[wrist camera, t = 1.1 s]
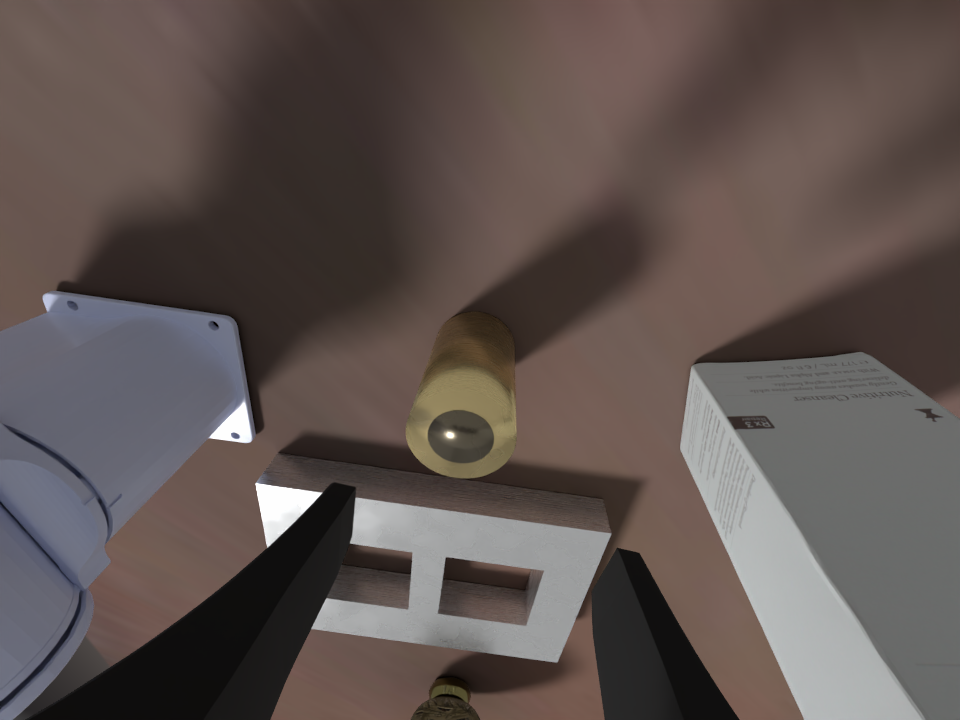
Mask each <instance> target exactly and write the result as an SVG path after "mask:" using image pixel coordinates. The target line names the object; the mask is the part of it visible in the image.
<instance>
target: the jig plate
mask: <svg viewBox="0 0 960 720" xmlns="http://www.w3.org/2000/svg"><path fill="white" fill-rule="evenodd" d="M333 482H336V483H340V484H345V485H349V486H353V487H356V498H355V510H354V522H353V534H352V538H351V541H350V544H357V545H364V546H371V547H378V548H386V549H393V550H400V551H407V552H413V556H412V569H411V574H404V573H397V572H389V571H382V570H375V569H368V568H361V567H354V566H346V565H341V568H340V570H339V573H338V575H337V577H336V579H335V581H334V583H333V586H332V588H331V590H330V592H329V594H328V596H327V598H326V600H325V602H324V604H323V606H322V608H321V610H320V612H319V614H318V616H317V618H316V620H315V622H314V624H313V626H312V628H311V629H317V630H324V631H331V632H338V633H346V634H353V635H360V636H367V637H375V638H382V639H389V640H396V641H404V642H411V643H418V644H425V645H433V646H440V647H447V648H454V649H461V650H469V651H476V652H483V653H490V654H498V655H505V656H512V657H519V658H527V659H534V660H541V661H548V662H556V663H557V662H558V660H559V657H560V655H561V653H562V650H563V648H564V646H565V643H566V641H567V638H568V636H569V634H570V631H571V629H572V627H573V624H574V622H575V619H576V617H577V615H578V612H579V610H580V608H581V605H582V603H583V600H584V598H585V596H586V593H587V591H588V588H589V586H590V584H591V581H592V579H593V577H594V574H595V572H596V569H597V567H598V565H599V562H600V560H601V558H602V555H603V553H604V550H605V548H606V546H607V543H608V541H609V539H610V536H611V534H612V533H611V529H610V525H609V521H608V517H607V513H606V509H605V505H604V501H603V499H599V498H592V497H585V496H578V495H571V494H564V493H556V492H549V491H542V490H535V489H528V488H521V487H514V486H507V485H500V484H493V483H486V482H479V481H471V480H464V479H457V478H450V477H443V476H436V475H429V474H422V473H415V472H408V471H401V470H394V469H386V468H379V467H372V466H365V465H358V464H351V463H344V462H337V461H330V460H323V459H316V458H309V457H301V456H294V455H287V454H280V453H277V454H276V456H275V457H274V459H273V460H272V461H271V463H270V464H269V466H268V467H267V468H266V470H265V471H264V473H263V474H262V475H261V477H260V478H259V480H258V481H257V482H256V488H257V493H258V499H259V504H260V510H261V515H262V521H263V526H264V532H265V537H266V543H267V548H268V547H269V546H270V545H271V544H272V543H273V542H274V541H275V540H276V539H277V538H278V537H279V536H280V535H281V534H283V533H284V532H285V531H286V530H287V529H288V528H289V527H290V526H291V525H292V524H293V523H294V522H295V521H296V520H297V519H298V518H299V517H300V516H301V515H302V514H303V513H304V512H305V511H306V510H307V509H308V508H309V507H310V506H311V505H312V504H313V503H314V501H315V500H316V499H317V498H318V497H319V496H320V495H321V494H322V493H323V492H324V490H325V489H326V488H327V487H328V486H329V485H330V484H331V483H333ZM446 557H450V558H457V559H464V560H471V561H479V562H486V563H493V564H500V565H507V566H514V567H521V568H529V569H531V572H530V575H529V579H528V582H527V585H526V589H525V590H519V589H511V588H504V587H497V586H490V585H483V584H476V583H468V582H461V581H454V580H447V579H443V576H444V568H445V561H446Z"/></svg>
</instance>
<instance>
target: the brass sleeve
mask: <svg viewBox="0 0 960 720" xmlns="http://www.w3.org/2000/svg"><path fill="white" fill-rule="evenodd" d="M406 438H407V442H408V445H409V447H410V449H411V451H412V453H413V454H414V455H415V457H416V458H417V459H418V460H419V461H420V462H421V463H422V464H424V465H425V466H426V467H428V468H429V469H431V470H433V471H435V472H437V473H439V474H442V475H445V476H449V477H454V478H476V477H481V476H485V475H488V474H490V473H492V472H494V471H496V470H498V469H499V468H501V467H502V466H503V465H504V464H505V463H506V462H507V461H508V460H509V458H510V457H511V456H512V454H513V452H514V449H515V446H516V392H515V345H514V340H513V337H512V334H511V332H510V331H509V329H508V328H507V326H506V325H505V324H504V323H503V322H501V321H500V320H499V319H497V318H496V317H494V316H492V315H489V314H487V313H482V312H465V313H461V314H458V315H456V316H454V317H452V318H451V319H449V320H448V321H447V322H446V323H445V324H444V325H443V326H442V327H441V329H440V331H439V333H438V335H437V338H436V341H435V344H434V347H433V349H432V352H431V355H430V358H429V361H428V364H427V366H426V369H425V372H424V375H423V378H422V381H421V384H420V386H419V389H418V392H417V395H416V398H415V401H414V403H413V406H412V409H411V412H410V415H409V418H408V421H407V424H406Z"/></svg>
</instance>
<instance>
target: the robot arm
mask: <svg viewBox="0 0 960 720" xmlns="http://www.w3.org/2000/svg"><path fill="white" fill-rule="evenodd" d="M43 302H44V304H45V307H46V309H47V312H48V313H45V314H42V315H40V316H37V317H35V318H32V319H30V320H27V321H25V322H22V323H20V324H17V325H15V326H12V327H10V328H7V329H5V330H2V331H0V720H12V719H14V718H15V717H16V716H17V715H18V714H20V713H21V712H22V711H23V710H24V709H25V708H26V707H27V706H28V705H30V704H31V703H32V702H33V701H34V700H35V699H36V698H37V697H38V696H39V695H40V694H41V693H42V692H43V690H44V689H46V687H47V686H48V685H49V684H50V683H51V682H52V681H53V680H54V679H55V678H56V677H57V675H58V674H59V673H60V672H61V670H62V669H63V668H64V667H65V665H66V664H67V663H68V662H69V660H70V659H71V657H72V656H73V654H74V653H75V651H76V650H77V648H78V647H79V645H80V644H81V642H82V640H83V638H84V636H85V634H86V632H87V630H88V628H89V625H90V623H91V620H92V617H93V610H94V602H93V596H92V594H91V592H90V590H89V589H88V587H89V585H90V584H91V583H92V582H93V581H94V580H95V579H96V578H97V577H98V576H99V575H100V574H101V572H102V571H103V570H104V569H105V568H106V567H107V566H108V565H109V564H110V562H111V561H110V559H109V557H108V556H107V554H106V552H105V548H104V546H105V544H106V543H107V542H108V541H109V540H110V539H111V538H112V537H113V536H114V535H115V534H116V533H117V532H118V531H119V530H120V529H121V528H122V526H123V525H124V524H125V523H126V522H127V521H128V520H129V519H130V518H131V517H132V516H133V515H134V514H135V513H136V512H137V511H138V510H139V509H140V508H141V507H142V506H143V505H144V504H145V503H146V502H147V501H148V500H149V499H150V498H151V497H152V496H153V495H154V494H155V493H156V492H157V490H158V489H159V488H160V487H161V486H162V485H163V484H164V483H165V482H166V481H167V480H168V479H169V478H170V477H171V476H172V475H173V474H174V473H175V472H176V471H177V470H178V469H179V468H180V467H181V466H182V465H183V464H184V463H185V462H186V461H187V460H188V459H189V458H190V457H191V456H192V454H193V453H194V452H195V451H196V450H197V449H198V448H199V447H200V446H201V445H202V444H203V443H204V442H205V441H206V440H207V439H208V438H214V439H222V440H229V441H236V442H243V443H250V442H252V440H253V439H254V438H255V436H256V433H255V427H254V421H253V415H252V409H251V404H250V398H249V392H248V386H247V380H246V374H245V368H244V362H243V356H242V350H241V344H240V338H239V332H238V326H237V323H236V322H235V320H234V319H233V318H231V317H230V316H226V315H220V314H213V313H206V312H199V311H192V310H185V309H178V308H171V307H164V306H158V305H151V304H144V303H137V302H130V301H123V300H116V299H109V298H102V297H95V296H88V295H81V294H74V293H67V292H60V291H51V292H48V293H46V294H44V295H43ZM75 303H76V304H77V305H76V304H75ZM213 321H214V322H216V323H217V324H218V326H219V327H217V326H215V325H214V323H213ZM237 433H238V434H237ZM355 498H356V487H353V486H349V485H345V484H340V483H336V482H333V483H331V484H330V485H329V486H328V487H327V488H326V489H325V490H324V492H323V493H322V494H321V495H320V496H319V497H318V498H317V499H316V500H315V501H314V503H313V504H312V505H311V506H310V507H309V508H308V509H307V510H306V511H305V512H304V513H303V514H302V515H301V516H300V517H299V518H298V519H297V520H296V521H295V522H294V523H293V524H292V525H291V526H290V527H289V528H288V529H287V530H286V531H285V532H284V533H283V534H281V535H280V536H279V537H278V538H277V539H276V540H275V541H274V542H273V543H272V544H271V545H270V546H269V547H268V548H267V549H266V550H264V551H263V552H262V553H261V554H260V555H259V556H258V557H256V558H255V559H254V560H253V561H252V562H251V563H250V564H248V565H247V566H246V567H245V568H244V569H243V570H242V571H240V572H239V573H238V574H237V575H236V576H235V577H233V578H232V579H231V580H230V581H229V582H227V583H226V584H225V585H224V586H222V587H221V588H220V589H219V590H218V591H216V592H215V593H214V594H213V595H211V596H210V597H209V598H207V599H206V600H205V601H204V602H202V603H201V604H200V605H198V606H197V607H196V608H194V609H193V610H192V611H191V612H189V613H188V614H187V615H185V616H184V617H182V618H181V619H180V620H178V621H177V622H176V623H174V624H173V625H171V626H170V627H169V628H167V629H166V630H164V631H163V632H162V633H160V634H159V635H157V636H156V637H155V638H153V639H152V640H150V641H149V642H148V643H146V644H145V645H143V646H142V647H140V648H139V649H137V650H136V651H134V652H133V653H131V654H130V655H129V656H127V657H125V658H124V659H122V660H121V661H119V662H118V663H116V664H115V665H113V666H111V667H110V668H108V669H107V670H105V671H104V672H103V673H101V674H99V675H98V676H96V677H94V678H93V679H91V680H90V681H88V682H87V683H85V684H84V685H82V686H80V687H79V688H77V689H76V690H74V691H73V692H71V693H70V694H68V695H66V696H65V697H63V698H61V699H60V700H58V701H56V702H55V703H53V704H51V705H50V706H48V707H46V708H45V709H43V710H41V711H39V712H38V713H36V714H34V715H33V716H31V717H29V718H28V719H26V720H270V719H271V717H272V714H273V712H274V709H275V707H276V704H277V702H278V699H279V697H280V694H281V692H282V689H283V687H284V684H285V682H286V680H287V678H288V675H289V673H290V671H291V669H292V667H293V664H294V662H295V660H296V658H297V656H298V654H299V652H300V650H301V648H302V646H303V644H304V642H305V640H306V638H307V636H308V634H309V632H310V630H311V628H312V626H313V624H314V622H315V620H316V618H317V616H318V614H319V612H320V610H321V608H322V606H323V604H324V602H325V600H326V598H327V596H328V594H329V592H330V590H331V588H332V586H333V583H334V581H335V579H336V577H337V575H338V573H339V570H340V568H341V565H342V562H343V560H344V557H345V555H346V552H347V549H348V546H349V544H350V541H351V538H352V534H353V522H354V510H355ZM592 625H593V638H594V646H595V653H596V661H597V668H598V675H599V682H600V689H601V696H602V703H603V710H604V717H605V720H739V718H738V717H737V715H736V714H735V712H734V711H733V710H732V708H731V707H730V705H729V704H728V702H727V701H726V699H725V698H724V696H723V695H722V693H721V692H720V690H719V688H718V687H717V685H716V684H715V682H714V681H713V679H712V678H711V676H710V674H709V673H708V671H707V670H706V668H705V667H704V665H703V663H702V662H701V660H700V658H699V657H698V655H697V654H696V652H695V650H694V649H693V647H692V645H691V643H690V642H689V640H688V638H687V637H686V635H685V633H684V632H683V630H682V628H681V627H680V625H679V623H678V621H677V620H676V618H675V616H674V614H673V613H672V611H671V609H670V607H669V606H668V604H667V602H666V600H665V598H664V597H663V595H662V593H661V591H660V589H659V588H658V586H657V584H656V582H655V580H654V579H653V577H652V575H651V573H650V571H649V569H648V568H647V566H646V564H645V562H644V560H643V559H642V557H641V555H640V553H637V552H633V551H629V550H624V549H620V548H617V549H616V551H615V552H614V554H613V556H612V558H611V559H610V561H609V563H608V564H607V566H606V568H605V570H604V571H603V573H602V575H601V576H600V578H599V580H598V581H597V583H596V585H595V587H594V588H593V590H592Z"/></svg>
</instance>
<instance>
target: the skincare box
mask: <svg viewBox="0 0 960 720" xmlns="http://www.w3.org/2000/svg"><path fill="white" fill-rule="evenodd" d="M680 450H681V452H682V454H683V456H684V458H685V460H686V463H687V465H688V467H689V469H690V471H691V474H692V476H693V478H694V480H695V482H696V484H697V486H698V489H699V491H700V493H701V495H702V497H703V499H704V502H705V504H706V506H707V508H708V511H709V513H710V515H711V517H712V519H713V521H714V524H715V526H716V528H717V530H718V532H719V535H720V537H721V539H722V541H723V543H724V545H725V548H726V550H727V552H728V554H729V556H730V558H731V561H732V563H733V565H734V568H735V570H736V572H737V574H738V576H739V579H740V581H741V583H742V585H743V587H744V589H745V592H746V594H747V596H748V598H749V600H750V602H751V605H752V607H753V609H754V611H755V613H756V615H757V618H758V620H759V622H760V624H761V626H762V628H763V630H764V632H765V635H766V637H767V639H768V641H769V644H770V646H771V648H772V650H773V652H774V655H775V657H776V659H777V661H778V663H779V666H780V668H781V670H782V672H783V674H784V676H785V679H786V681H787V683H788V685H789V687H790V690H791V692H792V694H793V696H794V698H795V700H796V703H797V705H798V707H799V709H800V711H801V713H802V716H803V718H804V720H960V419H959V418H958V417H956V416H955V415H954V414H952V413H951V412H949V411H948V410H947V409H945V408H944V407H942V406H941V405H940V404H938V403H937V402H935V401H934V400H933V399H931V398H930V397H928V396H927V395H926V394H924V393H923V392H922V391H920V390H919V389H917V388H916V387H915V386H913V385H912V384H910V383H909V382H908V381H906V380H905V379H903V378H902V377H901V376H899V375H898V374H896V373H895V372H893V371H892V370H891V369H889V368H888V367H886V366H885V365H884V364H882V363H881V362H879V361H878V360H876V359H875V358H874V357H872V356H871V355H867V354H865V353H863V352H856V353H850V354H840V355H837V356H829V357H818V358H805V359H793V360H777V361H760V362H738V363H698V364H694V365H693V366H692V367H691V373H690V380H689V387H688V395H687V402H686V409H685V416H684V423H683V430H682V438H681V445H680Z"/></svg>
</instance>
